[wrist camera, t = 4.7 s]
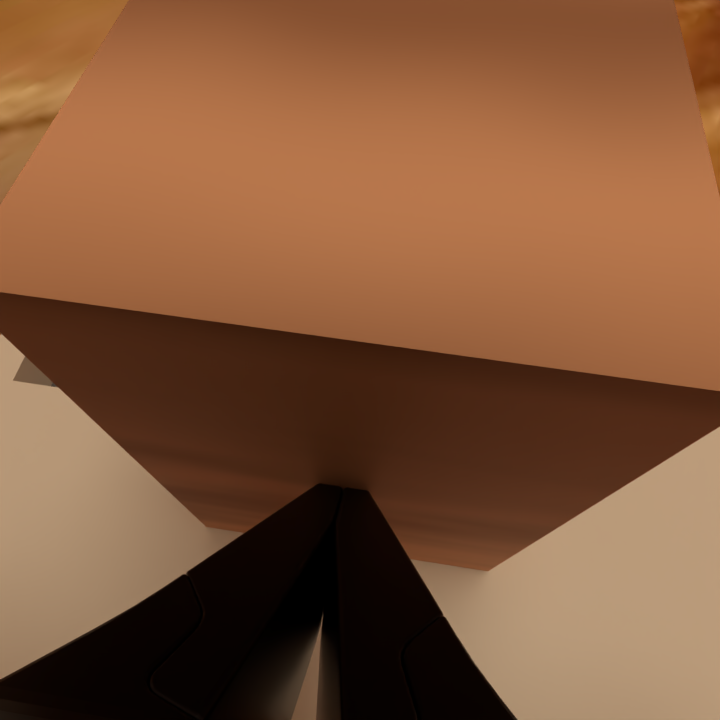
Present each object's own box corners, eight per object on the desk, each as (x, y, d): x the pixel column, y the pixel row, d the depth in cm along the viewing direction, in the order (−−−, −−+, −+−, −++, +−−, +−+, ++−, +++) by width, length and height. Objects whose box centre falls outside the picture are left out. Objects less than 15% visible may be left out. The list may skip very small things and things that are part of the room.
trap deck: (783, 810, 13) (853, 836, 11) (-106, 653, 14) (-171, 653, 12) (685, 248, 21) (717, 211, 19) (126, 178, 22) (107, 137, 20)
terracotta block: (488, 571, 13) (766, 396, 4) (205, 526, 14) (-51, 285, 5) (496, 328, 17) (663, -44, 8) (269, 298, 17) (186, -91, 8)
